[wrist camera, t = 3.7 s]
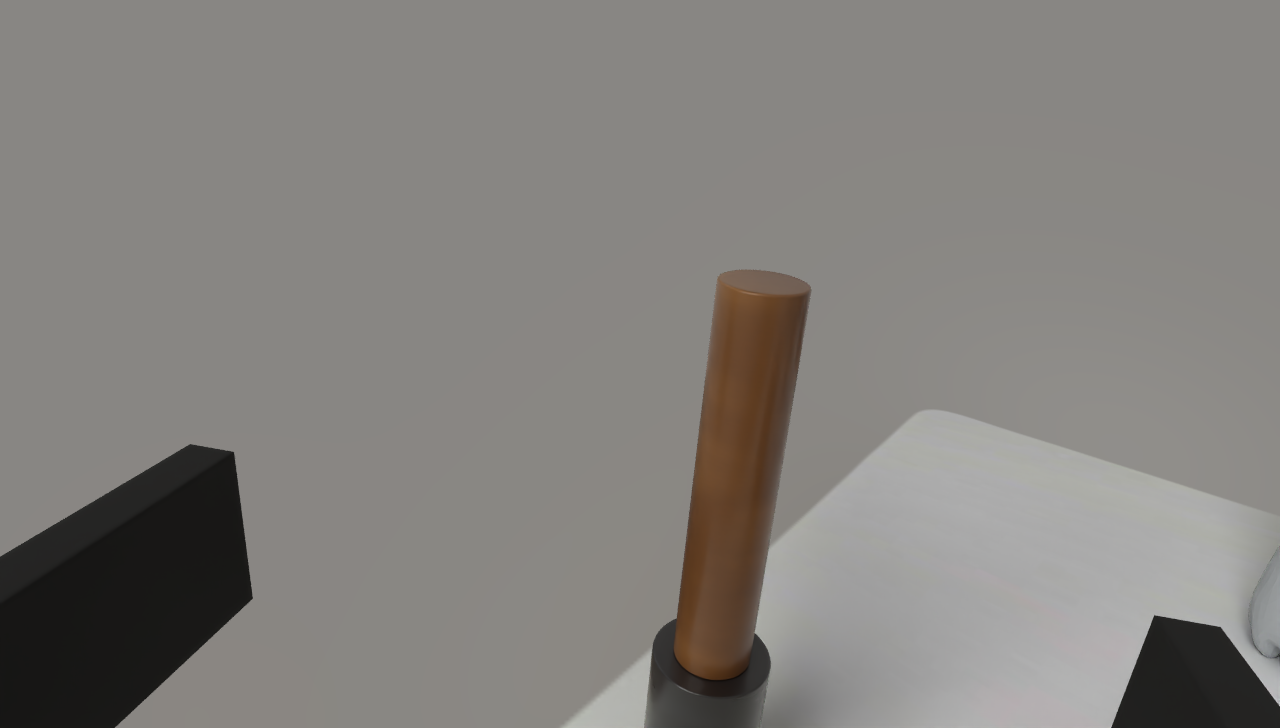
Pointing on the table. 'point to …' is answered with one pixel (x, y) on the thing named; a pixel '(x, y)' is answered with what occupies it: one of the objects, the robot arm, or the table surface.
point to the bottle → (1267, 609)
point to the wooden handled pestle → (732, 508)
